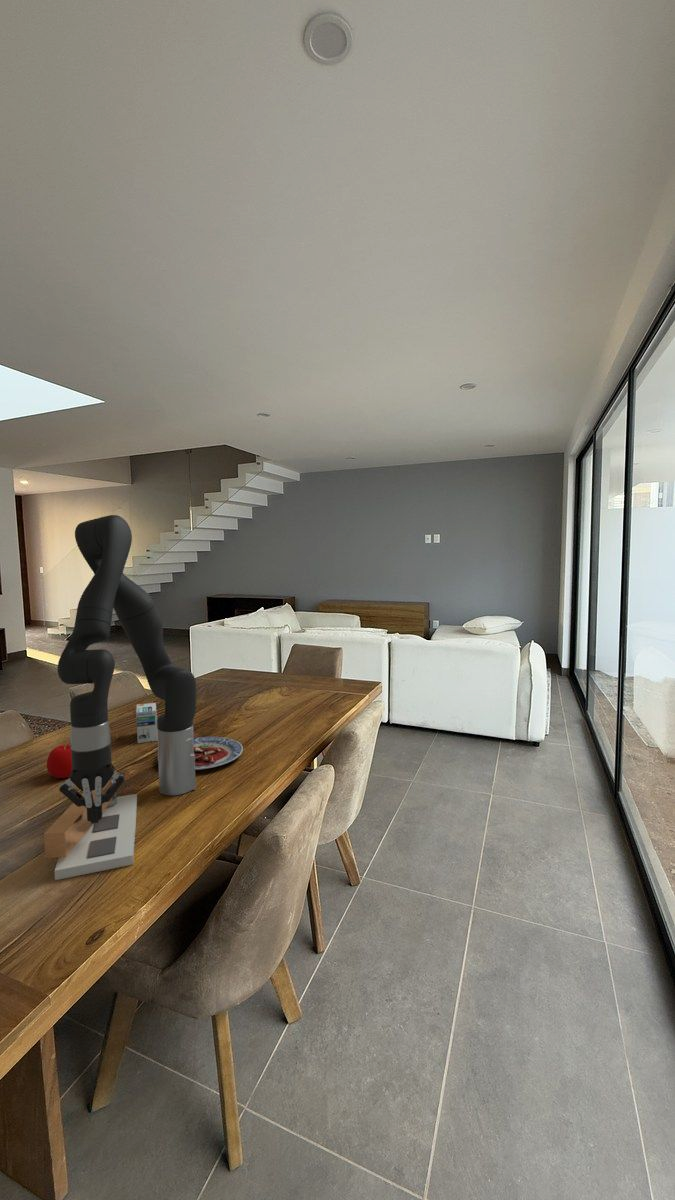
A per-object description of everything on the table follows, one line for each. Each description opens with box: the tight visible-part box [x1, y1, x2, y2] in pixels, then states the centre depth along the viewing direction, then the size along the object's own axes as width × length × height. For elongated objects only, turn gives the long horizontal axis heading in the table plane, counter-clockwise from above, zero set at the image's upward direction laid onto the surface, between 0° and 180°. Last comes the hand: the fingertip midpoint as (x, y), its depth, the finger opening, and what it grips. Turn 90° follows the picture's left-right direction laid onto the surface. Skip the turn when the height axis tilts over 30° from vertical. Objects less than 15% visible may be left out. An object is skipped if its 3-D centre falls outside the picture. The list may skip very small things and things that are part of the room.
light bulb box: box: [135, 702, 158, 744], centre depth 171 cm, size 11×7×11 cm, turn 22°
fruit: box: [46, 740, 72, 779], centre depth 141 cm, size 9×9×10 cm
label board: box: [54, 793, 138, 881], centre depth 111 cm, size 14×28×3 cm, turn 21°
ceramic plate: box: [194, 736, 244, 771], centre depth 154 cm, size 26×26×3 cm
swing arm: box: [43, 777, 118, 858], centre depth 110 cm, size 4×26×5 cm, turn 3°
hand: (95, 821), depth 105 cm, fingers closed
